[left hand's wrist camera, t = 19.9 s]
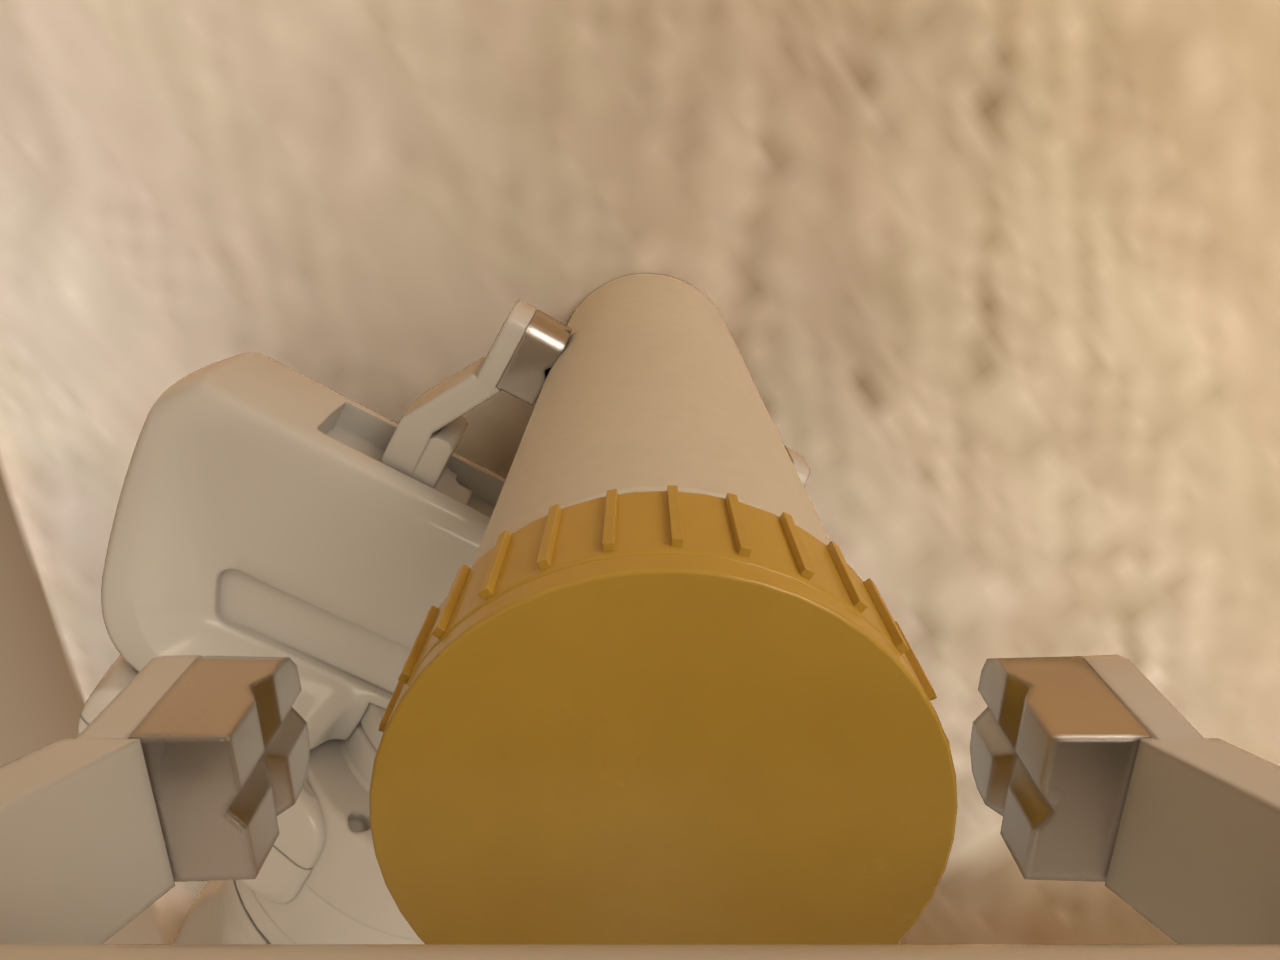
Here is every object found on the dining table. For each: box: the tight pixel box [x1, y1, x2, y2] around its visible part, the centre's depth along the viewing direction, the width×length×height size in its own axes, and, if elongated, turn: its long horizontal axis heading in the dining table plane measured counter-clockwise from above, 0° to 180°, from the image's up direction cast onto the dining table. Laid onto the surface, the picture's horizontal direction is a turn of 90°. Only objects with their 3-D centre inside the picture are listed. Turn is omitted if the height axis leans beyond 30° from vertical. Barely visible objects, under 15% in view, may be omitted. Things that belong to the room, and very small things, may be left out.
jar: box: [472, 273, 830, 565], centre depth 18 cm, size 5×5×19 cm
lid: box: [369, 485, 957, 944], centre depth 9 cm, size 6×6×2 cm
